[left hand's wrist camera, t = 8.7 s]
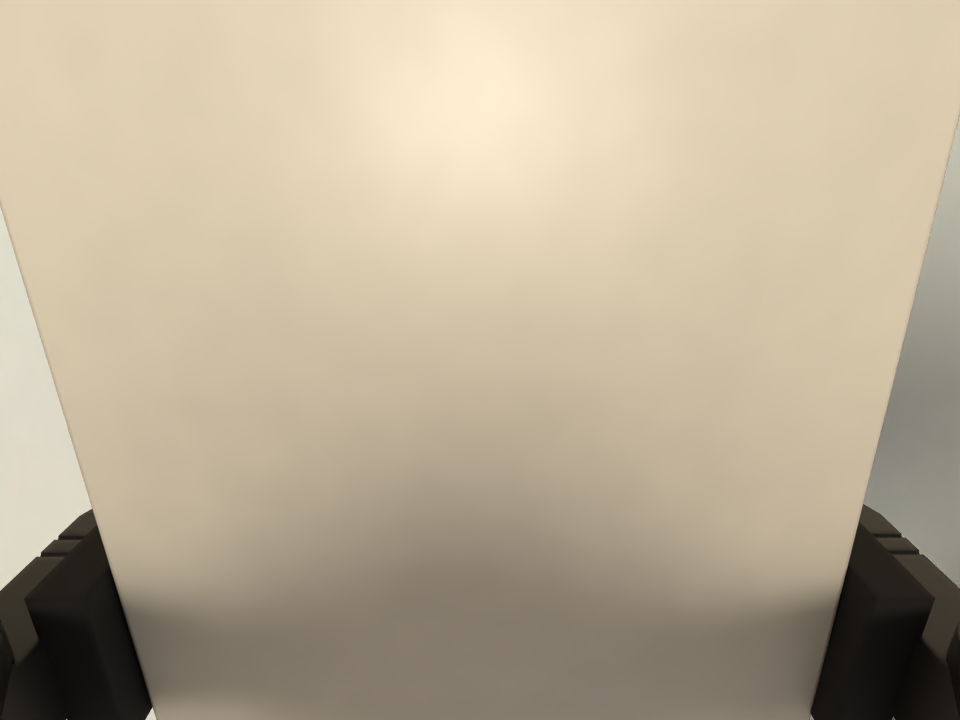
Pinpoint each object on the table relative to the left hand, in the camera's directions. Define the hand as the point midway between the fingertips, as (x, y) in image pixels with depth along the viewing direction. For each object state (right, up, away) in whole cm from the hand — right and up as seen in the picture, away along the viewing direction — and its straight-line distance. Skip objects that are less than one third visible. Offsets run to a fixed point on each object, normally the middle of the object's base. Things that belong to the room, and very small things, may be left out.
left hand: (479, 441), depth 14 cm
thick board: (-1, +26, -9) cm, 28 cm away
